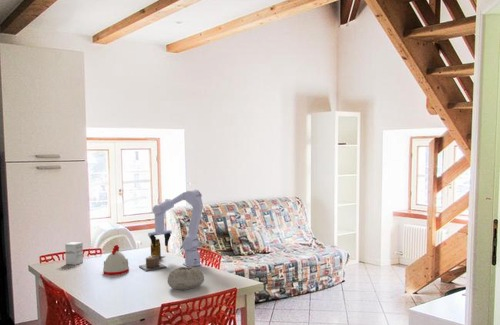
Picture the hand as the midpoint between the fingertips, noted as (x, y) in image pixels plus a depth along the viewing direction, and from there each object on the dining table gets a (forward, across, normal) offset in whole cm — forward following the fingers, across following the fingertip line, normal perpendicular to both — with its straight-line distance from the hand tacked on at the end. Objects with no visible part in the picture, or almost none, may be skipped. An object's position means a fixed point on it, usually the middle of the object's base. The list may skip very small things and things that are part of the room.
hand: (160, 246), depth 273 cm
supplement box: (+10, +44, -31) cm, 55 cm away
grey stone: (+10, +10, +59) cm, 61 cm away
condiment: (+10, -2, -12) cm, 16 cm away
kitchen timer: (+10, +29, +6) cm, 31 cm away
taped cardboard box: (+8, +9, +10) cm, 16 cm away
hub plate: (+9, +9, +10) cm, 16 cm away
